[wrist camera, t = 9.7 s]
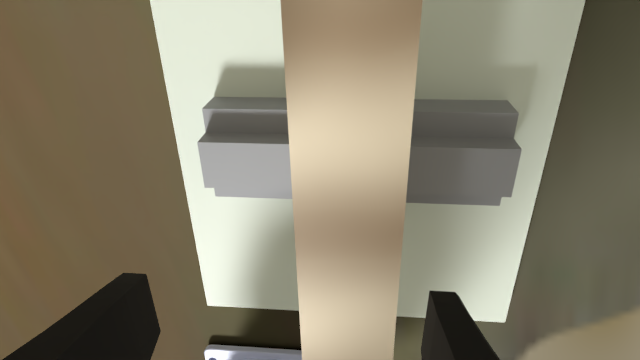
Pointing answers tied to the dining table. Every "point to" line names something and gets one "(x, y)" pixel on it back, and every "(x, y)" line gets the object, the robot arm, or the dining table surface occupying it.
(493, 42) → the fulcrum stand
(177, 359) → the dining table surface
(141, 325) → the robot arm
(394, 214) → the beech rod
